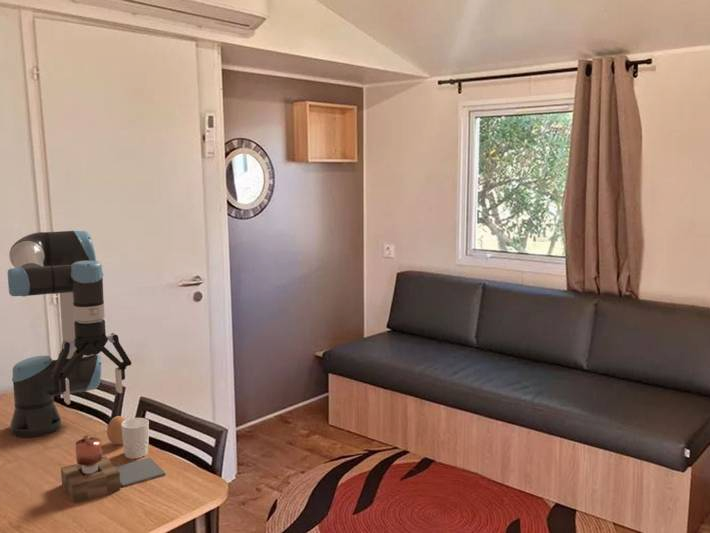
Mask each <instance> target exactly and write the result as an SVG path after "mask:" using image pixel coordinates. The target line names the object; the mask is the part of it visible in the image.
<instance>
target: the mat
mask: <svg viewBox="0 0 710 533" xmlns="http://www.w3.org/2000/svg"><path fill="white" fill-rule="evenodd" d="M115 468H116V469H117V470H118V471H119V472H120V486H121V487H122V488H125V487H128V486H129V487H130V486H132V485H135V484H138V483H139V484H140V483H142V482H147V481H149V480H152V479H156V478H160V477H163V476H166V472H165V471H164V470H163V469H162V468H161V467H160V466H159V464H157V463H156V462H155V461H154V460H153V458H151V457H147V458H143V459H139V460H136V461H132V462H128V463H125V464H120V465H117V466H115Z"/></svg>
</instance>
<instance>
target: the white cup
mask: <svg viewBox="0 0 710 533" xmlns="http://www.w3.org/2000/svg"><path fill="white" fill-rule="evenodd" d="M149 425H150V421H149V419H147V418H145V417H132V418H129V419H125V421H124V422H122V424H121V427H122V438H123V444H122V445H123V450H124V457H125V458H127V459H134V458H136V459H141V458H144V457H145V456H147V455H148V453H149V439H150V432H149V431H150V430H149V429H150V426H149ZM143 456H144V457H143Z"/></svg>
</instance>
